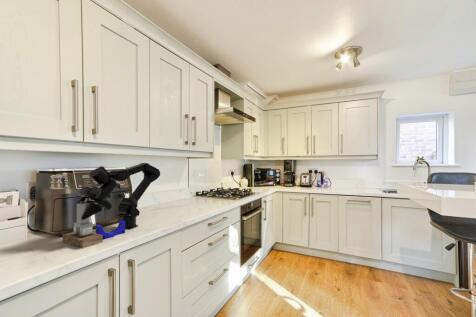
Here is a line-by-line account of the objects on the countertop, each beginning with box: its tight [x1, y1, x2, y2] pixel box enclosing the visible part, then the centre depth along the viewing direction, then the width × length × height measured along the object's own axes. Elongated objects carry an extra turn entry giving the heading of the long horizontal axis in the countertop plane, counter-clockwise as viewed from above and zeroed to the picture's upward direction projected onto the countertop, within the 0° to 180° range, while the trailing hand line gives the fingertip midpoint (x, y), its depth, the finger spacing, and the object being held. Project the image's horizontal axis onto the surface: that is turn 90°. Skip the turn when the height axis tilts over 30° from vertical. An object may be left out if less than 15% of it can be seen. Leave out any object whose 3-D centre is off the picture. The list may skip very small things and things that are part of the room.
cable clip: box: [95, 219, 126, 241], centre depth 105 cm, size 12×4×6 cm, turn 144°
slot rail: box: [61, 231, 104, 249], centre depth 97 cm, size 16×8×3 cm, turn 63°
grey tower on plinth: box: [73, 202, 94, 236], centre depth 97 cm, size 7×4×13 cm, turn 63°
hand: (79, 218), depth 96 cm, fingers closed on grey tower on plinth, 3 cm apart
